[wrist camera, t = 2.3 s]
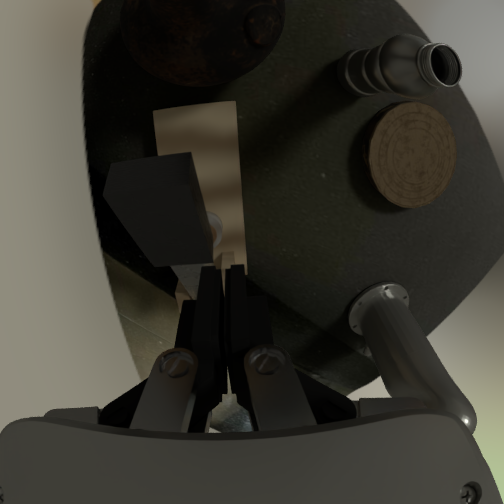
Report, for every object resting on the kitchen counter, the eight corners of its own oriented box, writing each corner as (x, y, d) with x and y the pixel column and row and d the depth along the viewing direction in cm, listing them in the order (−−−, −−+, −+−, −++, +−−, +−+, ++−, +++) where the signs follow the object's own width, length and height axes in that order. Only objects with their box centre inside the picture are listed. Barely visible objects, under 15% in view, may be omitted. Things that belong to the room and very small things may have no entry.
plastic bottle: (326, 87, 34) (404, 83, 16) (338, 43, 30) (421, 10, 13) (369, 103, 35) (464, 120, 17) (380, 61, 31) (479, 52, 14)
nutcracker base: (246, 263, 46) (249, 315, 36) (182, 267, 46) (169, 319, 35) (235, 100, 34) (234, 100, 24) (158, 109, 34) (127, 115, 24)
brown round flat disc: (344, 120, 36) (352, 122, 34) (430, 89, 33) (442, 90, 31) (378, 216, 43) (386, 224, 41) (453, 180, 40) (463, 186, 38)
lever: (227, 280, 37) (228, 306, 36) (187, 282, 37) (187, 308, 35) (192, 140, 16) (188, 184, 15) (114, 151, 16) (102, 195, 15)
